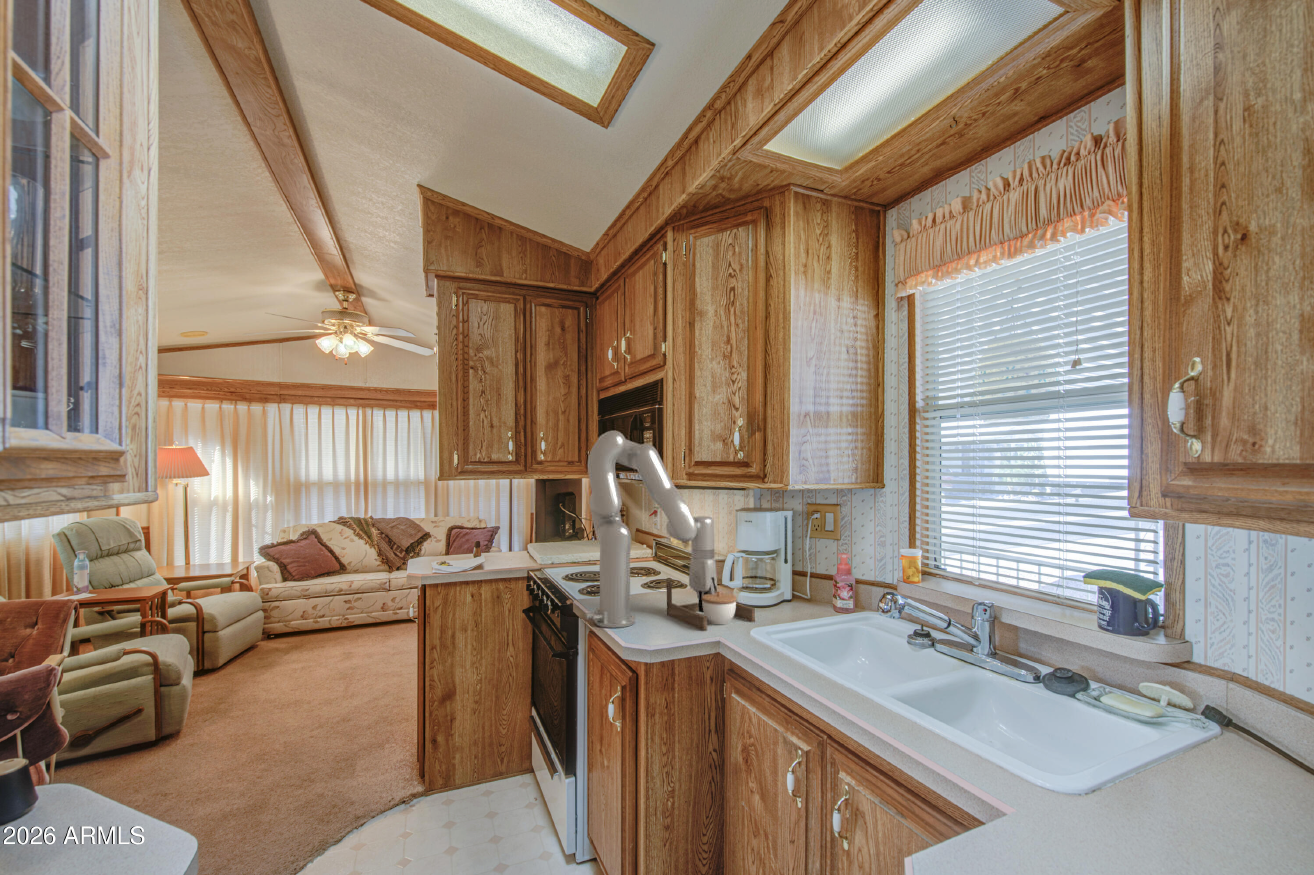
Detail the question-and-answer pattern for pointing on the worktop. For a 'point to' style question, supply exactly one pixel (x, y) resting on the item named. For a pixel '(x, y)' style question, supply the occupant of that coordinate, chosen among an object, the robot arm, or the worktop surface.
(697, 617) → the wooden dowel stand
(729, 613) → the lidded jar
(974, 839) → the worktop surface
